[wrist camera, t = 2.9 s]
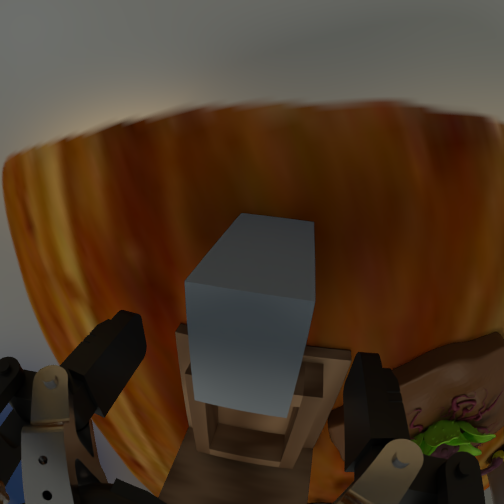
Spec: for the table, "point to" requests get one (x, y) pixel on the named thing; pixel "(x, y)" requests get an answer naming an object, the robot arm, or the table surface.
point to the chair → (253, 439)
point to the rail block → (252, 314)
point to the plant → (449, 399)
